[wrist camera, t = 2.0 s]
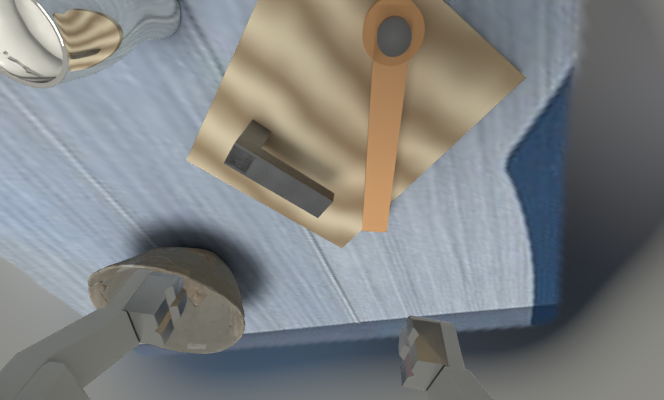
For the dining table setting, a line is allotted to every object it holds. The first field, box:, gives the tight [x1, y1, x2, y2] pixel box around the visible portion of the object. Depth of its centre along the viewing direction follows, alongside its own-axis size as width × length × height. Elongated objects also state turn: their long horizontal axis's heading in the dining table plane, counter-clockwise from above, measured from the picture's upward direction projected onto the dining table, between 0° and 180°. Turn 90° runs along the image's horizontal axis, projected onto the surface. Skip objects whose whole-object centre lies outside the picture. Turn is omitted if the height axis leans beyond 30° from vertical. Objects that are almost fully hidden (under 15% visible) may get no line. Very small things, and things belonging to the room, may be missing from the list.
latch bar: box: [362, 0, 425, 232], centre depth 32 cm, size 24×5×5 cm, turn 1°
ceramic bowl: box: [88, 247, 245, 353], centre depth 51 cm, size 22×23×10 cm
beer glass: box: [0, 0, 181, 88], centre depth 25 cm, size 7×7×15 cm
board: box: [186, 0, 526, 248], centre depth 35 cm, size 30×24×2 cm
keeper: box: [224, 119, 335, 218], centre depth 36 cm, size 3×12×8 cm, turn 56°
